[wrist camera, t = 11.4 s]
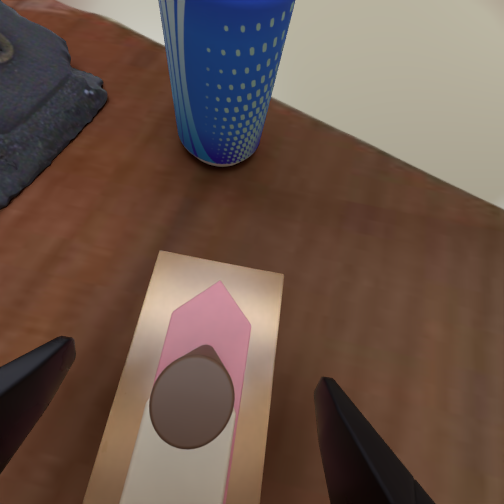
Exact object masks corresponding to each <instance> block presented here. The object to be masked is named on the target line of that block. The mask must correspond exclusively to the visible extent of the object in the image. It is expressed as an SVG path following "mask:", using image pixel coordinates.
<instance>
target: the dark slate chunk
mask: <svg viewBox="0 0 504 504" xmlns="http://www.w3.org/2000/svg"><path fill="white" fill-rule="evenodd" d="M70 61H71V56H70V54H69V52H68V47H67V45H66V41H65V40H64V39H62V38H61V37H59V36H58V35H56V34H55V33H53V32H52V31H50V30H49V29H47V28H45V27H43V26H41V25H39V24H37V23H34V22H31V21H29V20H28V19H26V18H24V17H22V16H20V15H19V14H18V13H17V12H16V11H15V10H14V9H13V8H11V7H9V6H7V5H6V4H4V3H3V2H2V1H1V0H0V209H1V208H3V207H5V206H7V205H8V204H9V202H10V200H11V199H12V198H14V197H15V196H17V195H18V194H19V192H20V191H21V190H22V189H23V188H24V187H26V186H28V185H30V184H31V183H32V182H33V180H34V179H35V177H36V176H37V175H38V174H39V173H41V172H42V171H43V170H44V169H45V168H46V167H47V166H49V165H50V164H51V161H52V160H53V159H54V158H55V157H56V156H57V155H58V154H59V153H60V152H61V151H62V150H63V149H64V148H65V147H66V146H67V145H68V144H69V142H70V140H71V139H73V138H75V137H76V135H77V134H78V132H79V131H81V130H82V128H83V127H84V126H85V124H87V123H89V122H90V121H91V120H92V118H93V117H94V116H95V115H96V114H97V111H98V110H99V109H100V108H101V107H102V106H103V105H104V104H105V102H106V100H107V92H106V91H105V90H104V89H102V88H101V85H102V84H103V81H102V80H101V79H100V78H99V77H97V76H93V75H92V74H91V73H86V72H85V71H80V70H77V69H75V68H72V67H71V65H70Z"/></svg>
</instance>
